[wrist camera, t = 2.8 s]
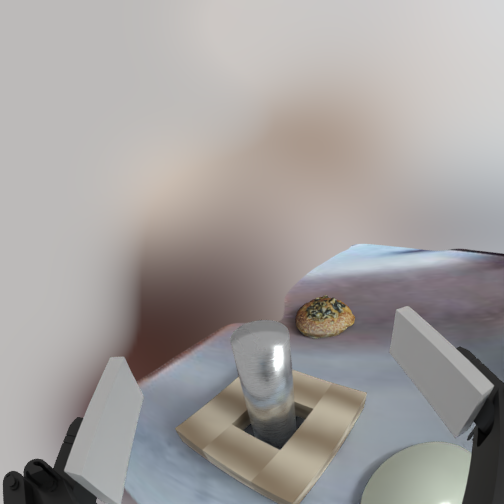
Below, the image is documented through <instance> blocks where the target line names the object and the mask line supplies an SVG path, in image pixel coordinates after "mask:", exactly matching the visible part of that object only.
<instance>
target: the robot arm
mask: <svg viewBox="0 0 504 504" xmlns="http://www.w3.org/2000/svg"><path fill="white" fill-rule="evenodd" d="M389 353H390V354H391V355H392V356H393V358H394V359H395V360H396V361H397V363H398V364H399V365H400V366H401V368H402V369H403V370H404V371H405V373H406V374H407V375H408V376H409V378H410V379H411V380H412V381H413V383H414V384H415V385H416V387H417V388H418V389H419V390H420V392H421V393H422V394H423V396H424V397H425V398H426V399H427V401H428V402H429V403H430V405H431V406H432V407H433V409H434V410H435V411H436V413H437V414H438V415H439V417H440V418H441V419H442V421H443V422H444V423H445V425H446V426H447V427H448V429H449V430H450V432H451V433H452V434H453V436H454V437H455V438H456V437H458V436H459V435H461V434H462V433H464V432H465V431H467V430H468V429H469V427H470V426H471V424H472V423H473V421H474V422H475V424H476V426H475V428H474V429H473V430H472V432H471V433H470V435H469V436H468V439H467V440H470V439H471V437H472V436H473V435H474V437H473V439H472V441H473V447H472V455H471V462H470V468H469V474H468V479H467V484H466V489H465V493H464V497H463V501H462V504H504V383H503V382H502V381H500V380H499V379H498V378H497V377H496V376H495V375H494V374H493V373H492V372H491V371H490V370H489V369H488V368H487V367H486V366H485V365H484V364H482V363H481V361H480V360H479V359H476V357H475V356H474V355H473V354H472V353H471V352H470V351H468V350H466V349H464V348H462V347H458V348H455V347H454V346H453V345H452V344H451V343H449V342H448V341H447V340H446V339H445V338H444V337H443V336H442V335H441V334H440V333H438V332H437V331H436V330H435V329H434V328H433V327H432V326H431V325H429V324H428V323H427V322H426V321H425V320H424V319H423V318H422V317H420V316H419V315H418V314H417V313H416V312H415V311H413V310H412V309H411V308H410V307H409V306H406V307H403V308H400V309H396V314H395V321H394V328H393V334H392V340H391V346H390V351H389ZM143 398H144V396H143V394H142V392H141V390H140V388H139V386H138V384H137V382H136V380H135V378H134V376H133V374H132V372H131V370H130V368H129V366H128V364H127V362H126V360H125V358H124V357H111V358H110V359H109V362H108V364H107V366H106V368H105V370H104V372H103V374H102V377H101V379H100V381H99V383H98V385H97V388H96V390H95V393H94V394H93V397H92V399H91V401H90V404H89V406H88V408H87V411H86V413H85V416H84V418H80V417H77V418H76V419H75V420H74V421H73V423H72V424H71V425H70V427H69V429H68V431H67V436H66V437H65V439H64V443H63V444H62V446H61V449H60V452H59V455H58V457H57V460H56V462H55V465H54V468H52V467H50V466H49V465H48V464H47V463H46V462H45V461H43V460H41V459H34V460H31V461H30V462H28V463H27V465H26V466H25V468H24V477H23V476H22V475H21V474H20V473H18V472H16V471H11V472H9V473H7V474H6V475H5V477H4V480H3V497H4V498H3V499H4V504H97V503H96V499H97V498H98V499H100V500H101V501H103V502H104V503H108V504H121V502H122V495H123V490H124V485H125V479H126V474H127V469H128V464H129V459H130V454H131V449H132V445H133V440H134V436H135V431H136V427H137V423H138V418H139V414H140V410H141V406H142V402H143Z"/></svg>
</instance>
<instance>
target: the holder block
mask: <svg viewBox="0 0 504 504" xmlns="http://www.w3.org/2000/svg"><path fill="white" fill-rule="evenodd" d="M292 375H293V388H294V403H295V416H297V417H300V418H302V419H305V421H304V422H303V423H302V424H301V426H300V427H299V428H298V429H297V431H296V432H295V433H294V434H293V436H292V437H291V438H290V439H289V440H288V442H287V443H286V444H285V445H284V446H283V447H282V448H281V450H279V449H277V448H275V447H273V446H271V445H269V444H267V443H265V442H263V441H261V440H259V439H257V438H255V437H253V436H251V435H250V434H248V433H246V432H244V431H243V430H244V429H245V428H246V427H247V426H248V425H249V424H250V423H251V421H250V418H249V414H248V410H247V406H246V402H245V399H244V395H243V391H242V387H241V383H240V379H239V377H238V378H236V379H235V380H234V381H233V382H232V383H231V384H230V385H228V386H227V387H226V388H225V389H224V390H223V391H221V392H220V393H219V394H218V395H217V396H215V397H214V398H213V399H212V400H211V401H209V402H208V403H207V404H206V405H204V406H203V407H202V408H201V409H199V410H198V411H197V412H196V413H194V414H193V415H192V416H191V417H189V418H188V419H187V420H185V421H184V422H183V423H182V424H180V425H179V426H178V427H176V428H175V430H176V431H177V433H178V435H179V436H180V438H181V439H182V441H183V442H184V443H185V444H187V445H188V446H189V447H190V448H192V449H193V450H194V451H196V452H197V453H198V454H200V455H201V456H202V457H204V458H205V459H206V460H208V461H209V462H211V463H212V464H213V465H215V466H216V467H218V468H219V469H221V470H222V471H224V472H225V473H227V474H228V475H230V476H231V477H233V478H234V479H236V480H238V481H239V482H241V483H242V484H244V485H246V486H247V487H249V488H251V489H253V490H254V491H256V492H258V493H260V494H261V495H263V496H265V497H267V498H269V499H271V500H273V501H274V502H276V503H278V504H299V503H300V502H301V501H302V500H303V498H304V497H305V496H306V495H307V493H308V492H309V491H310V490H311V488H312V487H313V486H314V484H315V483H316V482H317V481H318V479H319V478H320V476H321V475H322V474H323V472H324V471H325V469H326V468H327V467H328V465H329V464H330V462H331V461H332V459H333V458H334V456H335V455H336V453H337V452H338V450H339V449H340V447H341V446H342V444H343V442H344V441H345V439H346V438H347V436H348V434H349V433H350V431H351V429H352V428H353V426H354V424H355V422H356V421H357V419H358V417H359V415H360V414H361V412H362V410H363V408H364V404H365V400H366V395H367V393H366V392H362V391H358V390H355V389H351V388H348V387H344V386H341V385H338V384H334V383H331V382H328V381H325V380H322V379H319V378H316V377H312V376H309V375H307V374H304V373H301V372H298V371H295V370H292Z"/></svg>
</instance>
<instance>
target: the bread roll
mask: <svg viewBox="0 0 504 504" xmlns="http://www.w3.org/2000/svg"><path fill="white" fill-rule="evenodd" d="M354 319H355V317H354V315H353V314H352V312H351V310H350V308H349V307H348V306H347V305H345V304H344V303H343V302H341V301H339V300H336V299H335V298H328V296H327V295H325V296H324V297H319V298H316V299H314V300H312V301H310V302H309V303H306V304H305V305H303V306H302V307H301V308H300V309H299V311H298V312H297V315H296V326H297V327H298V330H299V331H300V333H301V334H303V335H304V336H308V337H311V338H314V339H317V338H326V337H332V336H336V335H338V334H340V333H341V332H343V331H344V330H345V329H346V328H347V327H349V326H351V325H353V324H354Z"/></svg>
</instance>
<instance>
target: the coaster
mask: <svg viewBox="0 0 504 504" xmlns="http://www.w3.org/2000/svg"><path fill="white" fill-rule="evenodd" d="M471 455H472V454H471V453H470V452H469V451H467V450H466V449H464V448H462V447H460V446H458V445H455V444H451V443H447V442H426V443H421V444H417V445H414V446H410V447H408V448H406V449H403V450H401V451H400V452H398V453H396V454H394V455H393V456H391V457H390V458H389V459H387V460H386V461H385V462H384V463H383V464H382V465H381V466H380V467H379V468H378V469H377V470H376V471H375V473H374V474H373V475H372V477H371V478H370V480H369V481H368V483H367V485H366V487H365V489H364V491H363V494H362V497H361V502H360V504H462V501H463V497H464V493H465V489H466V484H467V479H468V474H469V468H470V462H471Z"/></svg>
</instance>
